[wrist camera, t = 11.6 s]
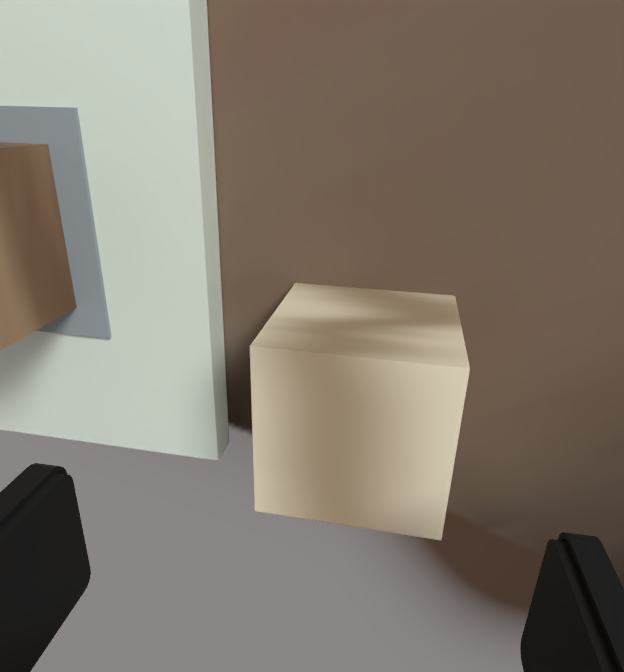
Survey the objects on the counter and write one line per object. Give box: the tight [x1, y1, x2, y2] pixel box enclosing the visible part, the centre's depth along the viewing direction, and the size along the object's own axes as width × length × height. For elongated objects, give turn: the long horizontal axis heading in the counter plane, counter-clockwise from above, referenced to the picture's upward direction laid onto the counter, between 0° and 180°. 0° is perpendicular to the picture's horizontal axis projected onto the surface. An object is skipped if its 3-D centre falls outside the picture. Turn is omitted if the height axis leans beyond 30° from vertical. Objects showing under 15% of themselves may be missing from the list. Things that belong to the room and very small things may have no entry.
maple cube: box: [250, 283, 470, 540], centre depth 15 cm, size 5×5×5 cm
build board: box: [0, 0, 229, 461], centre depth 17 cm, size 14×16×1 cm
